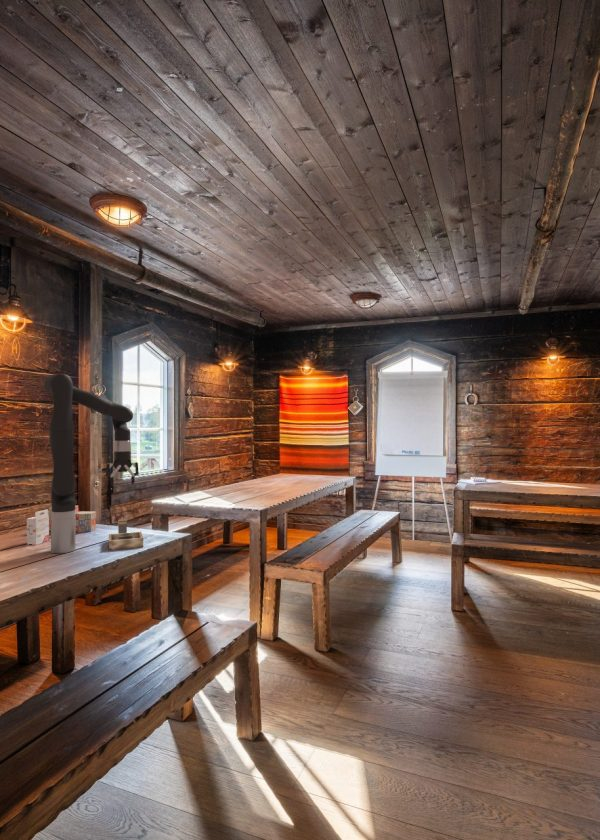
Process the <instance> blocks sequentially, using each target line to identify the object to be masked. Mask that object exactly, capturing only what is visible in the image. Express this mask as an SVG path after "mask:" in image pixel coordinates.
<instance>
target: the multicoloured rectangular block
mask: <svg viewBox="0 0 600 840" xmlns="http://www.w3.org/2000/svg"><path fill="white" fill-rule="evenodd" d="M48 515H49V531H51V530H52V507H48ZM95 530H97V511H92V510H91V511H89V510H88V511H80V508H79V505H76V533H90V532H94V531H95Z"/></svg>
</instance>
